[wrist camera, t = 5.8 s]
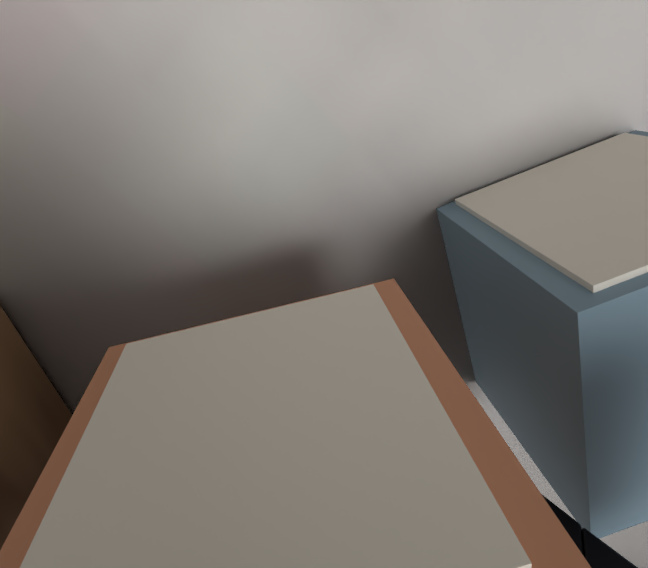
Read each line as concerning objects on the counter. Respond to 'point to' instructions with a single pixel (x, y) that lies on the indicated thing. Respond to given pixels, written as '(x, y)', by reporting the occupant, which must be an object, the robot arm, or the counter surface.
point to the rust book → (287, 453)
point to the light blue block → (564, 319)
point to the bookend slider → (24, 423)
